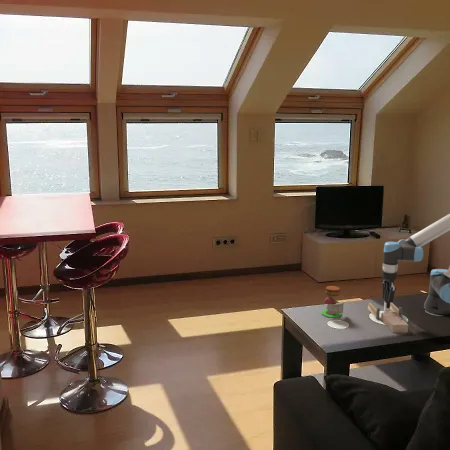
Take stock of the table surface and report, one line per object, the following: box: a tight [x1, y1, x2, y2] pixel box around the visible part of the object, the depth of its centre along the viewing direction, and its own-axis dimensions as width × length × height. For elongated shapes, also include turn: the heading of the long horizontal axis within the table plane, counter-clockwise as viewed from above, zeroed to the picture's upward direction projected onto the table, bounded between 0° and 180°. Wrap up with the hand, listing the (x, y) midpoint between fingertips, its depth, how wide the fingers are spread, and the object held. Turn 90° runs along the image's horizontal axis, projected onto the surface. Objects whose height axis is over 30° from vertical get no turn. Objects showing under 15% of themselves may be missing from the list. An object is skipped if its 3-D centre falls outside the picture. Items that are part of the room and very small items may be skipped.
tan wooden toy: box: [367, 302, 403, 320], centre depth 268 cm, size 14×13×6 cm
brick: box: [380, 311, 409, 334], centre depth 254 cm, size 17×8×5 cm, turn 4°
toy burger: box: [321, 285, 345, 319], centre depth 267 cm, size 12×13×15 cm
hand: (386, 312), depth 266 cm, fingers closed
